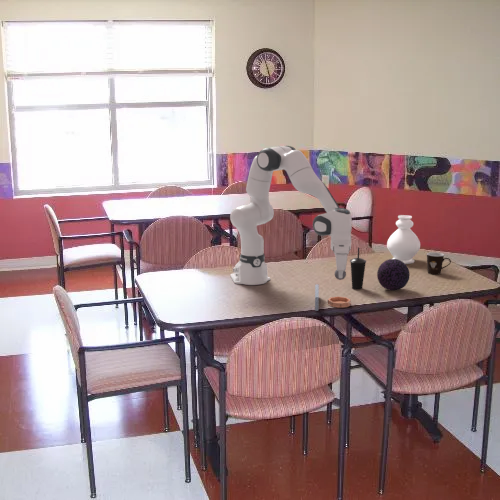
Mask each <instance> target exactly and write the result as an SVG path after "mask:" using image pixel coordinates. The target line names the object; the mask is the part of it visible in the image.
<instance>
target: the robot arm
mask: <svg viewBox="0 0 500 500" xmlns="http://www.w3.org/2000/svg"><path fill="white" fill-rule="evenodd" d="M283 170H284V171H285V172H286V173H287V176H288V178H289V180H290V182H291V184H292V186H293V187H294V189H295V190H296V191H298V192H300V193H303V194H306V195H310V196H312V197H314V198H316V199H317V200H318V201H319V202H320V205H321V206H322V207H323V209H324V211H325V213H321V214H318V215H317V216H315V217H314V218H313V221H312V228H313V232H314V233H315V234H316V235H318V236H321V237H327V236H330V250H332V252H333V254H334V257H335V267H336V270H337V271H338V273H339V275H338V277H339V278H343V271H345V272H346V269H347V263H348V256H349V254H350V251H351V250H352V235H351V232H352V230H353V229H352V226H353V224H352V222H353V219H352V214H351V211H350V210H349V209H346V208H344V207H341V206H339V204H338V203H337V201H336V199H335V198H334V196H333V195H332V193H331V192H330V190H329V188H328V187H327V185H326V184H325V183H324V181H322V180H321V178H319V176H317V174H316V173H315V171H314V169H313V167H312V165H311V163H310V162H309V160H308V157H306V155H305V154H304V153H303V152H302V151H301V150H299V149H296V148H295V147H293V146H291V145H275V146H272V147H266V148H265V147H264V148H263V149H261V150H260V151H259V152H258V153H257V155H256V156H255V157H254V158H253V160H252V163H251V165H250V169H249V173H248V177H247V181H246V188H245V192H246V193H247V195H248V196H249V197H250V200H249V201H250V202H249V203H248V204H243V205H239V206H237V207H235V208H234V209H232V211H231V212H230V216H229V219H230V222H231V224H232V226H233V227H234V228H235V229H236V230H237V231H238V233H239V237H240V247H241V249H240V252H239V254H240V255H239V261H238V262H237V263H236V264H235V265H234V267H233V268H232V273H230V275H229V276H230V279H231V280H232V281H233V283H234V284H237V285H244V286H245V285H247V286H256V285H264V284H266V283H268V281H270V280H271V277H270V276H268V264H267V263H266V261H265V258H266V257H265V253H264V249H265V248H264V247H265V246H264V243H265V242H264V237H263V236H262V235H261V234H259V231H258V226H260V225H265V224H267V223H269V222H270V221H271V220H273V218H274V214H275V210H274V208H273V206H272V205H271V203H270V200H269V199H270V197H269V196H270V195H269V194H270V188H271V184H272V178H273V173H274V172H276V171H278V172H279V171H283Z"/></svg>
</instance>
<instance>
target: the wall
mask: <svg viewBox="0 0 500 500" xmlns="http://www.w3.org/2000/svg"><path fill="white" fill-rule="evenodd" d="M319 287H320V285H319V284H317V283H315V286H314V311H315V312H317V311H319V299H320V298H319V296H320V295H319V293H320V291H319V289H320V288H319Z"/></svg>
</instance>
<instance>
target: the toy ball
mask: <svg viewBox="0 0 500 500" xmlns="http://www.w3.org/2000/svg"><path fill="white" fill-rule="evenodd" d="M410 275H411V274H410V270H409V267H408V266H407V264H405V263H403V262H402V261H400V260H398V259H392V258H389V259H386V260H384V261H383V262H382V263H381V264H380V265H379V267H378V268H377V272H376V276H377V277H376V278H377V281H378V283H379V284H380V286H382V287H383V288H384V289H385V290H387V291H393V292H395V291H399V290H401V289H403V288H405V287H406V285H407V284H408V282H409V280H410Z"/></svg>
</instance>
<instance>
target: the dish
mask: <svg viewBox="0 0 500 500" xmlns="http://www.w3.org/2000/svg"><path fill="white" fill-rule="evenodd" d="M351 303H352V300H351V299H350V298H348V297H345V296H338V295H337V296H332V297H329V298H328V299H327V305H328V306H330V307H332V308H338V309H339V308H341V309H342V308H349V307H350V306H351Z"/></svg>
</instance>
